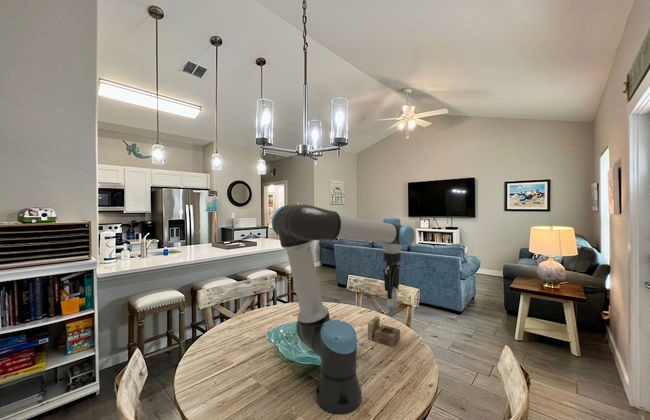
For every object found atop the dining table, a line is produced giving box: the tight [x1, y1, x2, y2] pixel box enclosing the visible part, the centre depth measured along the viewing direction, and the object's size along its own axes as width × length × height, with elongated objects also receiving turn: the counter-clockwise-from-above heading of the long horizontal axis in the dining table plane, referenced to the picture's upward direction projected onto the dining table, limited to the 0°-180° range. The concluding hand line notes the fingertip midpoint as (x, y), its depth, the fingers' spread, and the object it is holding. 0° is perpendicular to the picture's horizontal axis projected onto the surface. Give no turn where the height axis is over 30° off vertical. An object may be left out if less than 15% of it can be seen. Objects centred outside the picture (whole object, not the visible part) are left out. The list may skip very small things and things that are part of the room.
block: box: [373, 324, 401, 348], centre depth 127 cm, size 9×9×4 cm
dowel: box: [388, 287, 397, 316], centre depth 123 cm, size 3×3×12 cm
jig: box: [367, 316, 381, 342], centre depth 127 cm, size 9×16×9 cm, turn 56°
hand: (392, 304), depth 124 cm, fingers closed on dowel, 3 cm apart
